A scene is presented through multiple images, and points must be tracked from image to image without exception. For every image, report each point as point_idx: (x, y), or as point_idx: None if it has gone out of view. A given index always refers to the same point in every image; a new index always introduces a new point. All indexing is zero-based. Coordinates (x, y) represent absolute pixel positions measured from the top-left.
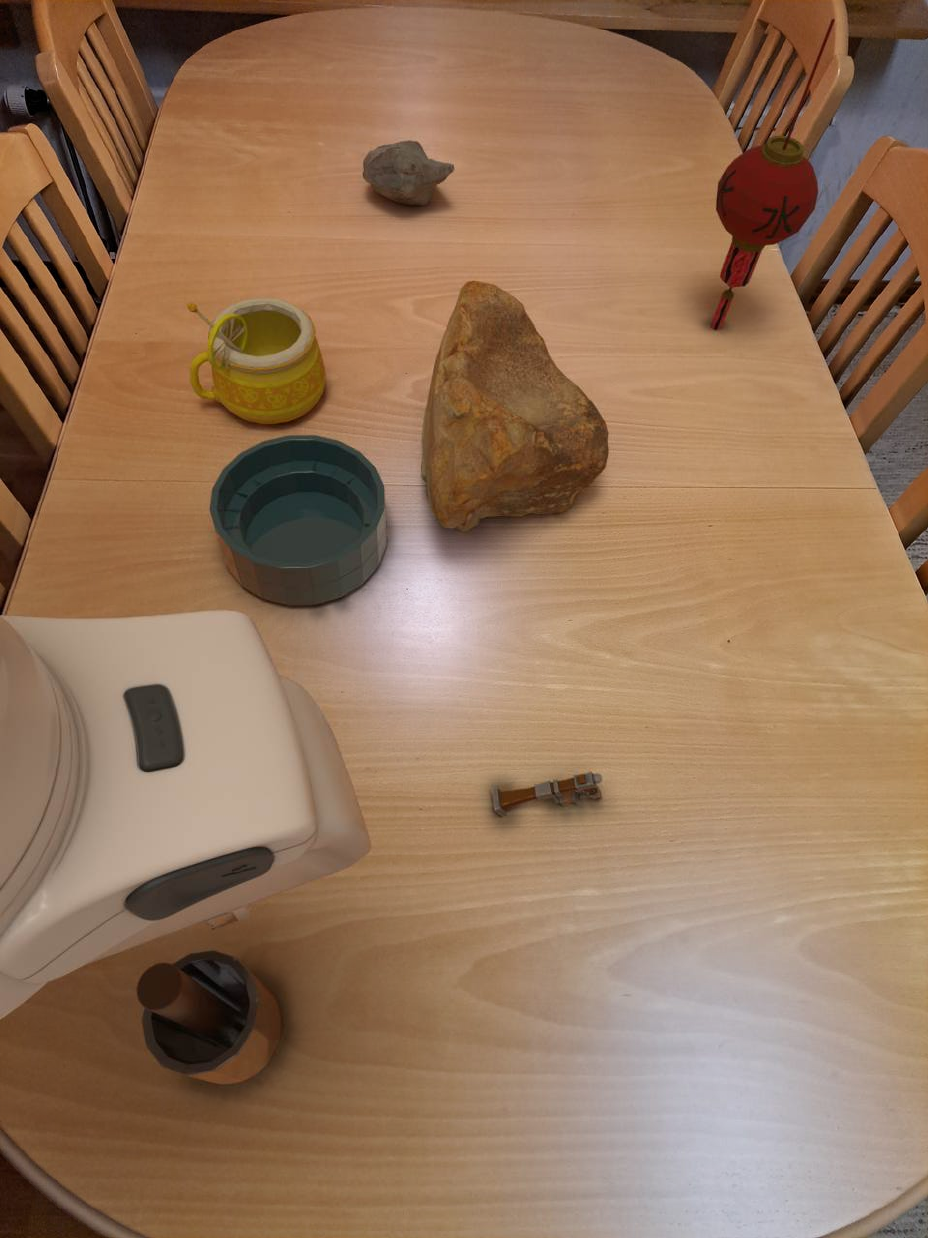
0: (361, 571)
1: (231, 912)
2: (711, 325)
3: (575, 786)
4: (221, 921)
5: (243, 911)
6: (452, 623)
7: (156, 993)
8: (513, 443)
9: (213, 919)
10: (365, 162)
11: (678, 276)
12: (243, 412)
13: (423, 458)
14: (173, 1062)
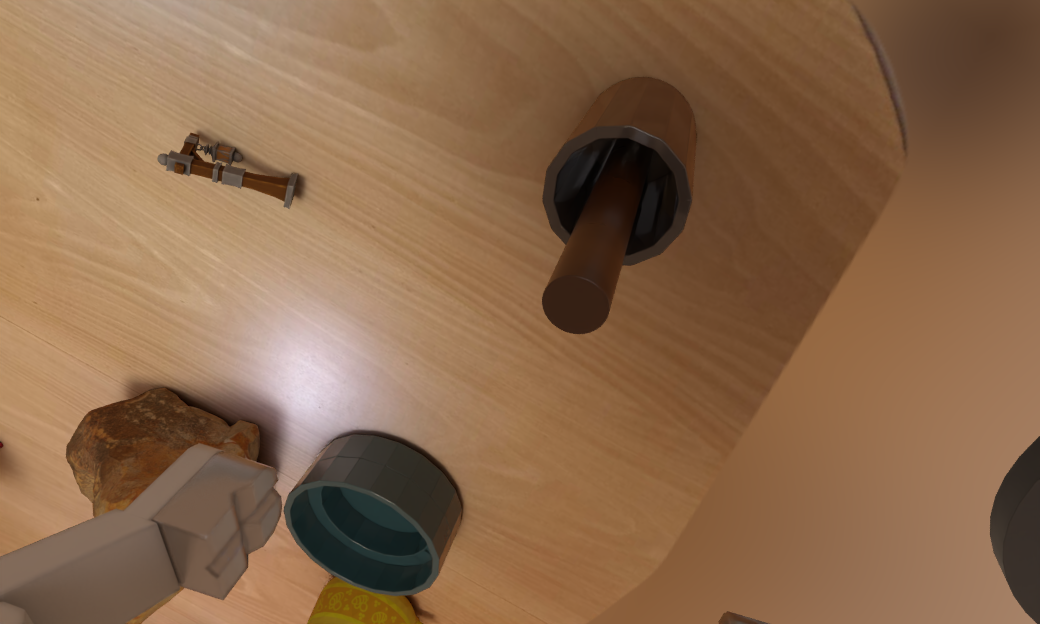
0: (342, 449)
1: (151, 518)
2: (1, 445)
3: (189, 164)
4: (211, 493)
5: (150, 492)
6: (289, 359)
7: (582, 300)
8: (104, 509)
9: (190, 528)
10: None
11: (23, 491)
12: (396, 604)
13: None
14: (670, 164)
